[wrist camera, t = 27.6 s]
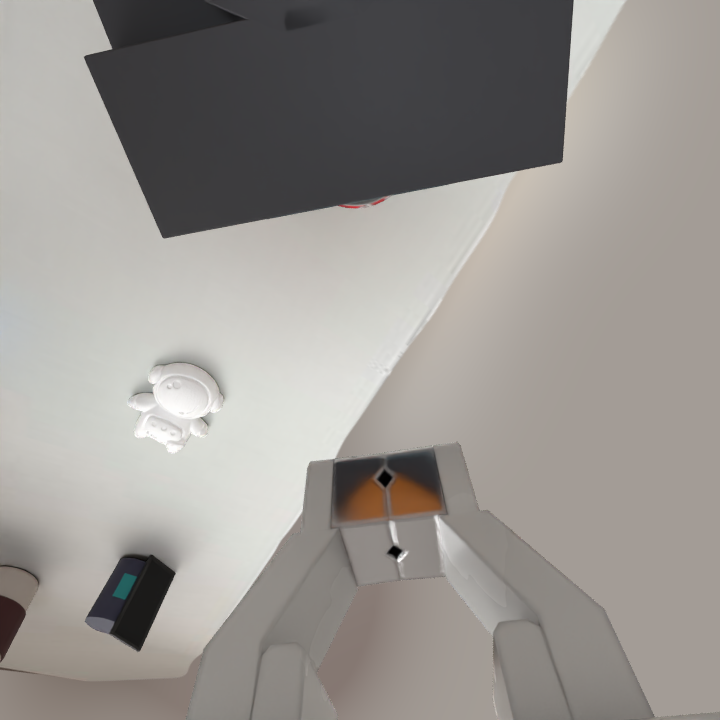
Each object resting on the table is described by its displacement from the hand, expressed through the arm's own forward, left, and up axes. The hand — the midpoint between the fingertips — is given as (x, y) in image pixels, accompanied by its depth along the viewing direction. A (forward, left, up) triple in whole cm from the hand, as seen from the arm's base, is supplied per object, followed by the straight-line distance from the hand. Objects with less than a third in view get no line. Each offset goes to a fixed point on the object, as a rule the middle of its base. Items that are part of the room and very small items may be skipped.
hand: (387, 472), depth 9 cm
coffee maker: (+3, +6, -31) cm, 32 cm away
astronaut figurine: (-30, -7, -31) cm, 44 cm away
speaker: (-58, -24, -31) cm, 70 cm away
